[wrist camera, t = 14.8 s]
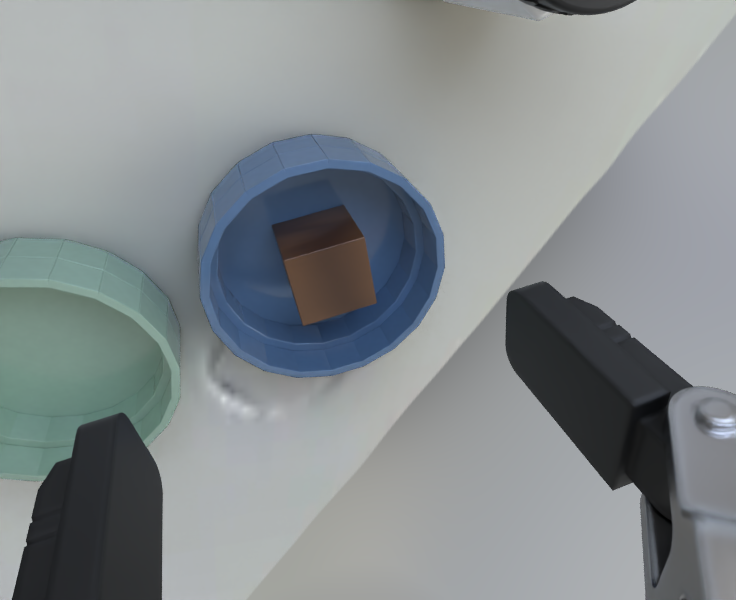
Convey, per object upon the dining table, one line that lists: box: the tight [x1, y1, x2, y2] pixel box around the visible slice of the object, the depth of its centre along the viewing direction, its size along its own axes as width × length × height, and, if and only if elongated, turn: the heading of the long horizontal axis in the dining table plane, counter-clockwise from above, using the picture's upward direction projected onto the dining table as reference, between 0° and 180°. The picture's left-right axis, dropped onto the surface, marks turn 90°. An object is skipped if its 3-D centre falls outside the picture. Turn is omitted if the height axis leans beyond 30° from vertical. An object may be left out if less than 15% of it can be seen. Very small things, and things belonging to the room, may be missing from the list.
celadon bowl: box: [0, 238, 180, 481], centre depth 30 cm, size 14×14×5 cm
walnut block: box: [272, 205, 377, 326], centre depth 31 cm, size 5×5×5 cm
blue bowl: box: [198, 134, 445, 378], centre depth 32 cm, size 14×14×5 cm
